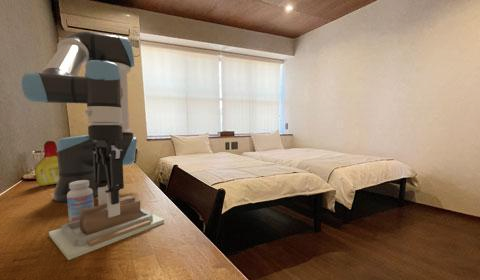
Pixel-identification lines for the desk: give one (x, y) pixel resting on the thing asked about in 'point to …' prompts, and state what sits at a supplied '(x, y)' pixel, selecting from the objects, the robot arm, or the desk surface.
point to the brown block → (98, 215)
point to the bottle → (48, 165)
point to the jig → (99, 234)
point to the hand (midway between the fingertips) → (109, 212)
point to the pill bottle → (79, 198)
